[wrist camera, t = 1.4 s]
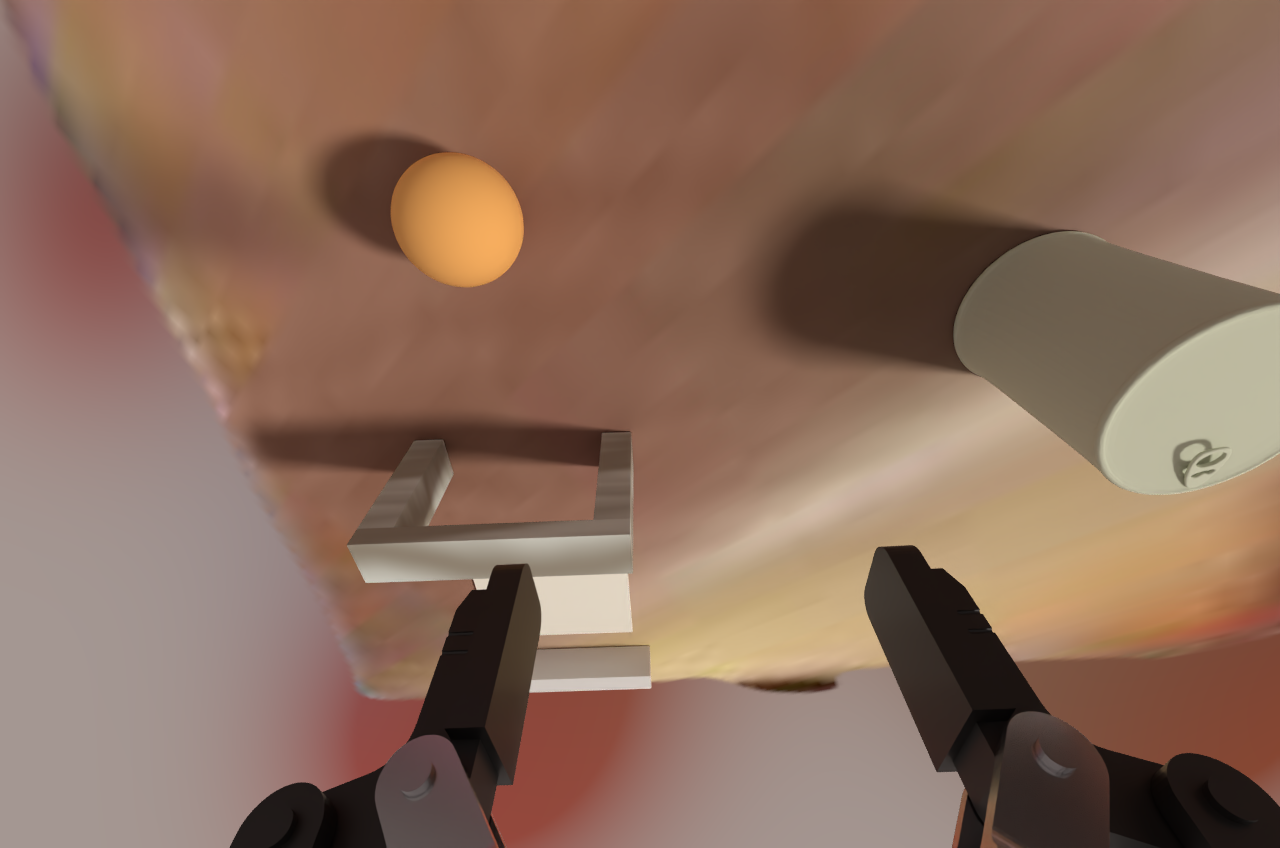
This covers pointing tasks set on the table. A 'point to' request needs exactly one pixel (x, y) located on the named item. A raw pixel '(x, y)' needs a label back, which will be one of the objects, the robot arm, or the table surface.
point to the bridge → (492, 526)
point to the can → (1130, 359)
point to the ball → (457, 219)
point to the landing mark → (581, 603)
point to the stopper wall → (591, 669)
